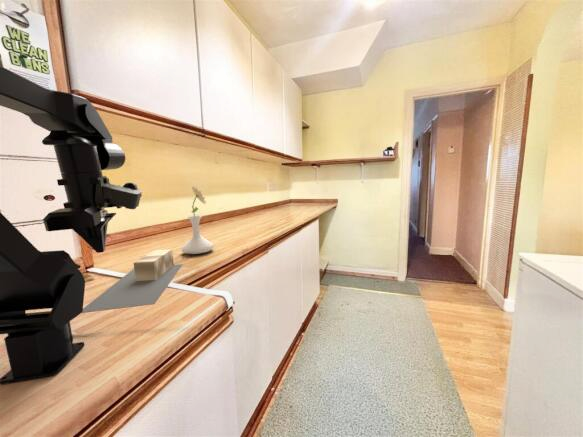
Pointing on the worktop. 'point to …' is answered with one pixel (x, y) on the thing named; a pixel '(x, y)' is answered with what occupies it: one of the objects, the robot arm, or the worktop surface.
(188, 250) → the flower in vase
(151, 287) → the rubber mat
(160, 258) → the birch block
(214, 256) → the worktop surface
